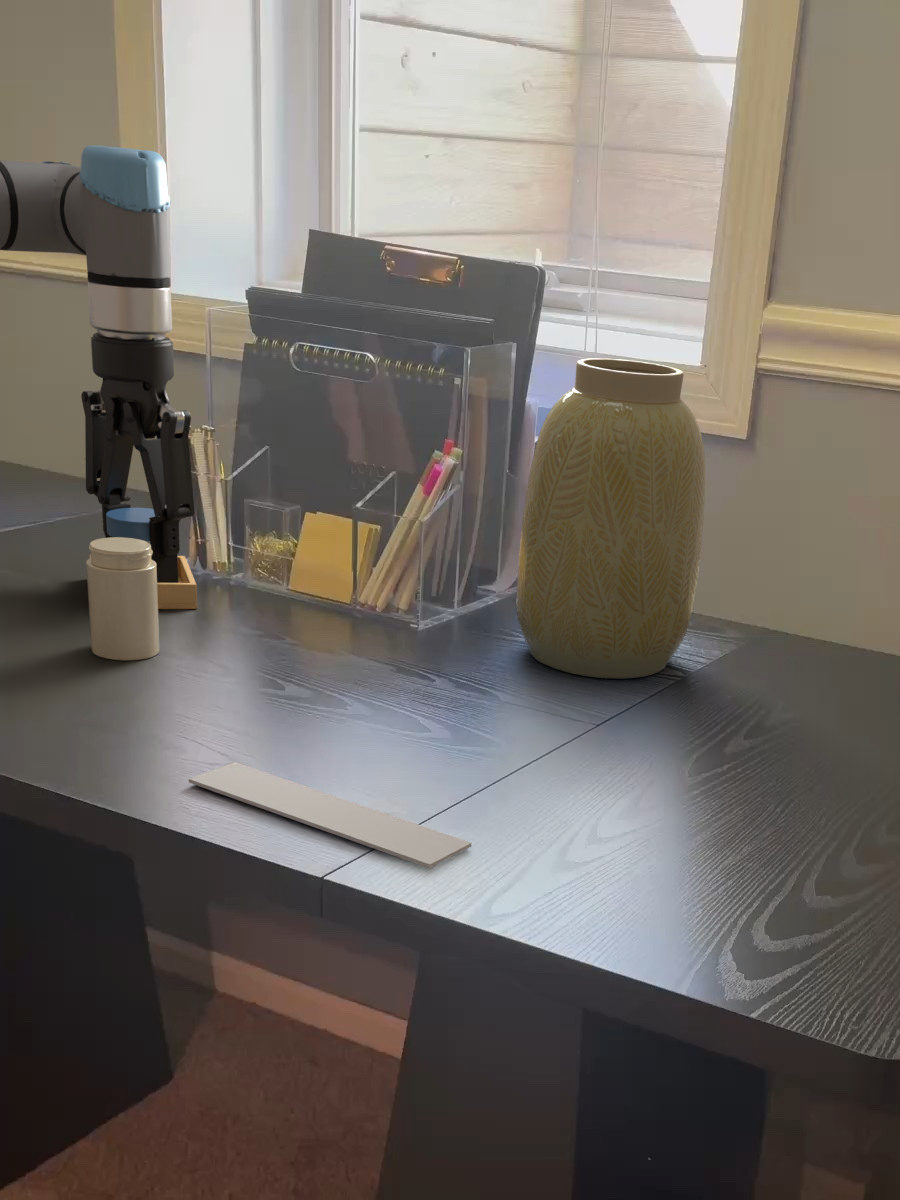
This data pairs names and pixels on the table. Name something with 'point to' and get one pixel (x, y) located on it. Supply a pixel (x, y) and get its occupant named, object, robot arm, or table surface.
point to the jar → (123, 599)
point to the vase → (612, 523)
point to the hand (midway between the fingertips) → (142, 577)
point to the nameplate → (332, 814)
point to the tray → (178, 589)
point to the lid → (129, 523)
